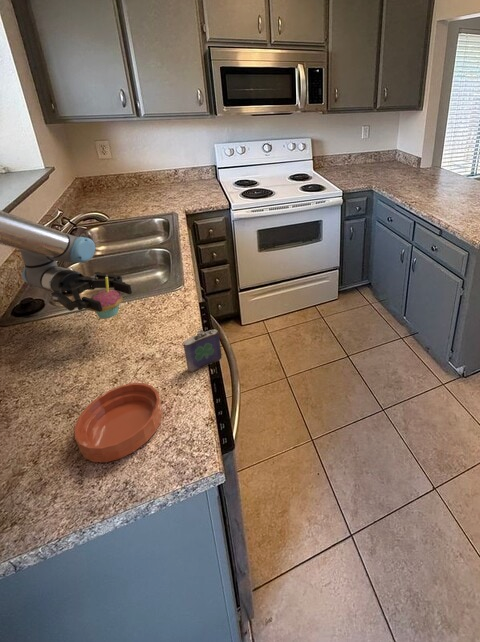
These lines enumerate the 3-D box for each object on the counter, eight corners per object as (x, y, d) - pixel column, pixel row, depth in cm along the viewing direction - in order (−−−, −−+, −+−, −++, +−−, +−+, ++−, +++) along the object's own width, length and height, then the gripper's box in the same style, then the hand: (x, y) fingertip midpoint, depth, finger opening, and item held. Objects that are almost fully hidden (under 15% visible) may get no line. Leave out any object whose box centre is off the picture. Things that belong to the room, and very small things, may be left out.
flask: (189, 374, 93) (183, 340, 90) (186, 367, 96) (180, 334, 92) (223, 358, 98) (218, 326, 95) (219, 352, 101) (215, 321, 97)
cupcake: (113, 302, 108) (104, 267, 104) (132, 309, 104) (123, 273, 100) (84, 318, 101) (74, 281, 97) (103, 327, 97) (93, 288, 93)
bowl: (67, 474, 70) (61, 458, 68) (93, 406, 84) (89, 392, 83) (156, 451, 74) (152, 435, 72) (166, 390, 89) (163, 376, 87)
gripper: (100, 276, 118) (149, 290, 109) (28, 311, 99) (80, 332, 91) (95, 255, 115) (145, 268, 106) (20, 288, 97) (73, 307, 88)
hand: (115, 297), depth 99 cm, fingers closed on cupcake, 8 cm apart
